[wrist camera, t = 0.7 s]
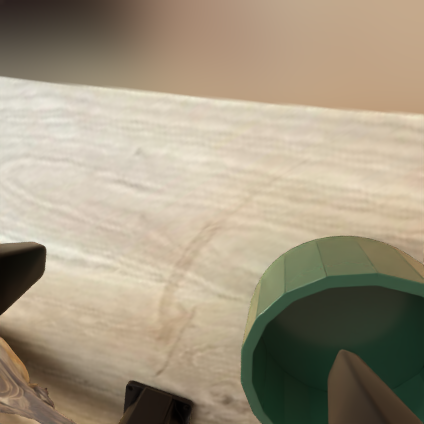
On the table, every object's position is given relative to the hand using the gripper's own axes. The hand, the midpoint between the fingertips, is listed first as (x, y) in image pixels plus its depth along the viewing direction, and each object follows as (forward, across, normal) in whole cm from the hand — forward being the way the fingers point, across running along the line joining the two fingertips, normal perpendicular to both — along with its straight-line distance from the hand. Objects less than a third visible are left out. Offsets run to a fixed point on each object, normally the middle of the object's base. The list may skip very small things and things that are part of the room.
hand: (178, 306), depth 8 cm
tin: (+14, -10, +6) cm, 18 cm away
